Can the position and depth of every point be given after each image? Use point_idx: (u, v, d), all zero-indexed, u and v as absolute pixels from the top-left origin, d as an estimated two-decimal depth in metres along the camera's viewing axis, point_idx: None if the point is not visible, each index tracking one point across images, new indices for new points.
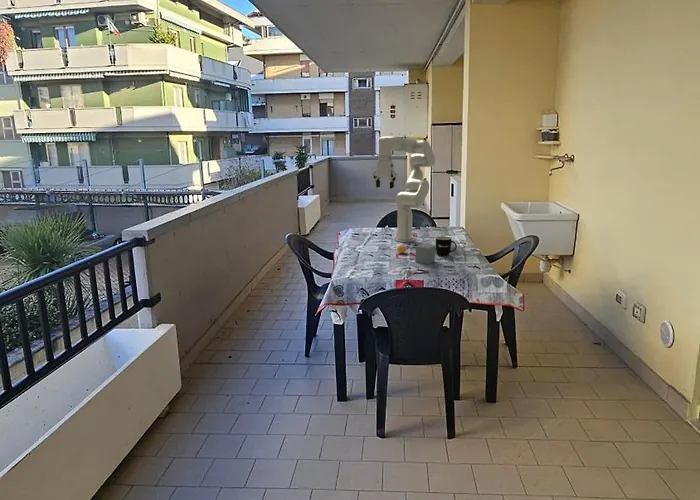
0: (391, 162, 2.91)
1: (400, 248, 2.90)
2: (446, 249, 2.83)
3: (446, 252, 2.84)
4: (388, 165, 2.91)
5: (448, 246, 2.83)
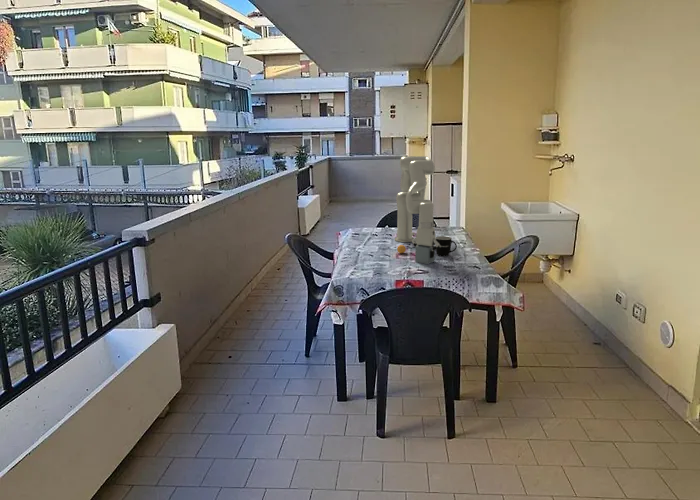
0: (433, 229, 2.68)
1: (400, 248, 2.90)
2: (446, 249, 2.83)
3: (446, 252, 2.84)
4: (430, 233, 2.67)
5: (448, 246, 2.83)
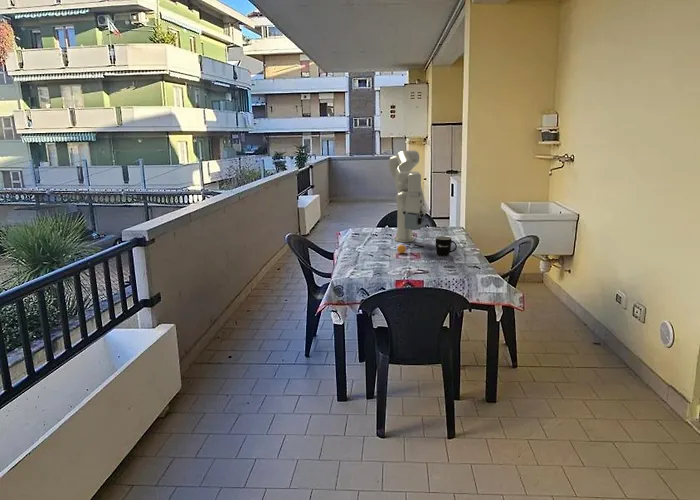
0: (420, 198, 2.93)
1: (400, 248, 2.90)
2: (446, 249, 2.83)
3: (446, 252, 2.84)
4: (417, 201, 2.92)
5: (448, 246, 2.83)
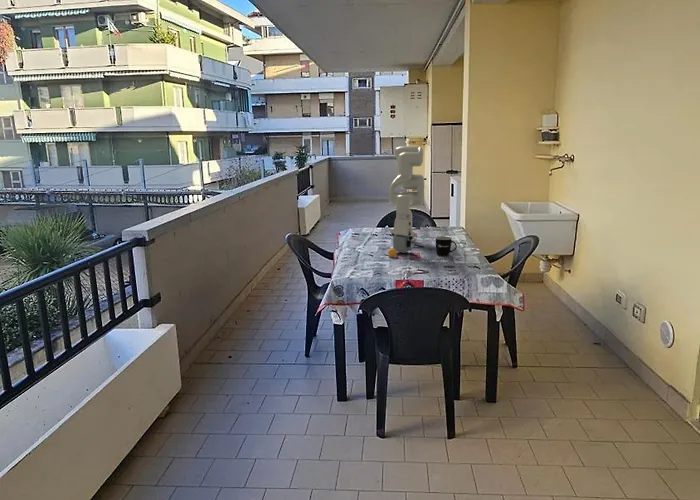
0: (409, 220, 2.86)
1: None
2: (446, 249, 2.83)
3: (446, 252, 2.84)
4: (406, 223, 2.85)
5: (448, 246, 2.83)
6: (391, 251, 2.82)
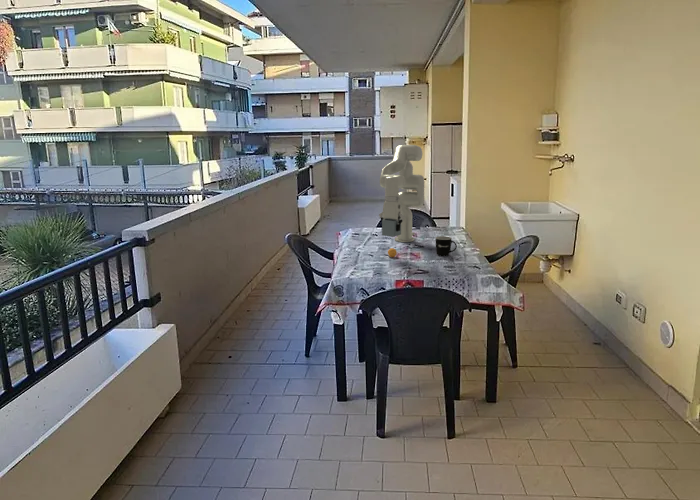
0: (398, 203, 2.74)
1: None
2: (446, 249, 2.83)
3: (446, 252, 2.84)
4: (395, 206, 2.73)
5: (448, 246, 2.83)
6: (391, 251, 2.82)
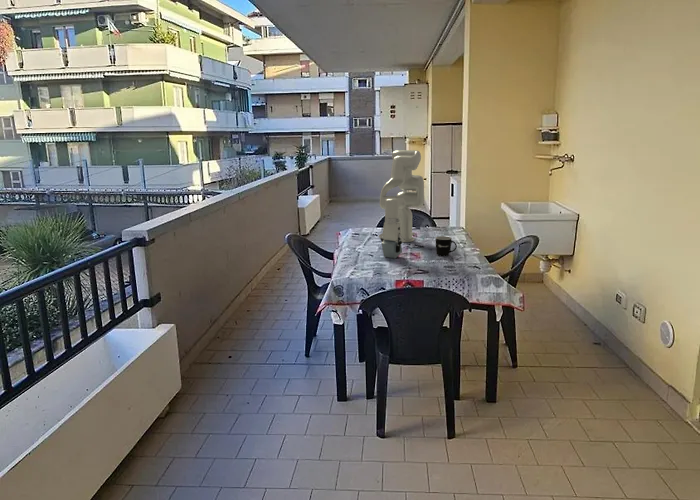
0: (398, 225, 2.77)
1: None
2: (446, 249, 2.83)
3: (446, 252, 2.84)
4: (395, 228, 2.76)
5: (448, 246, 2.83)
6: None
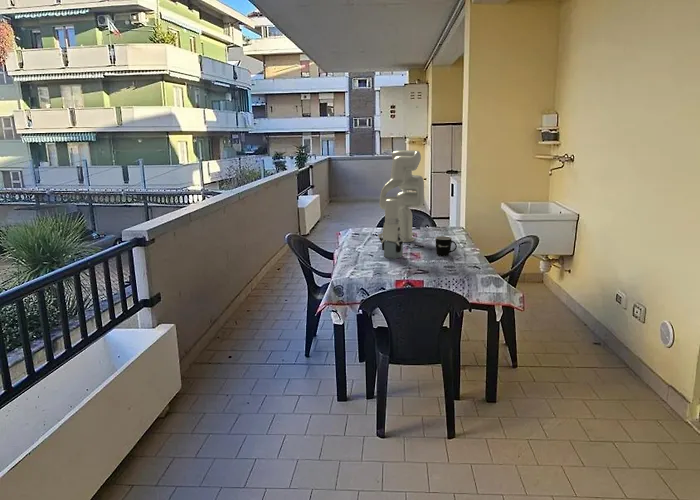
0: (398, 225, 2.77)
1: None
2: (446, 249, 2.83)
3: (446, 252, 2.84)
4: (395, 229, 2.76)
5: (448, 246, 2.83)
6: None
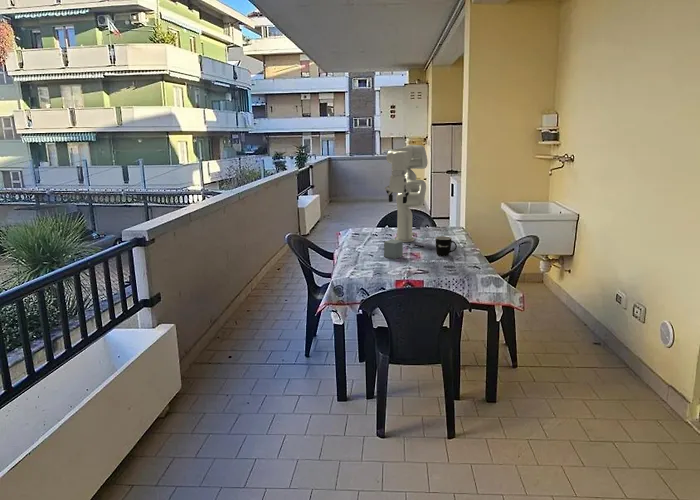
0: (404, 177, 2.90)
1: None
2: (446, 249, 2.83)
3: (446, 252, 2.84)
4: (401, 180, 2.90)
5: (448, 246, 2.83)
6: None
